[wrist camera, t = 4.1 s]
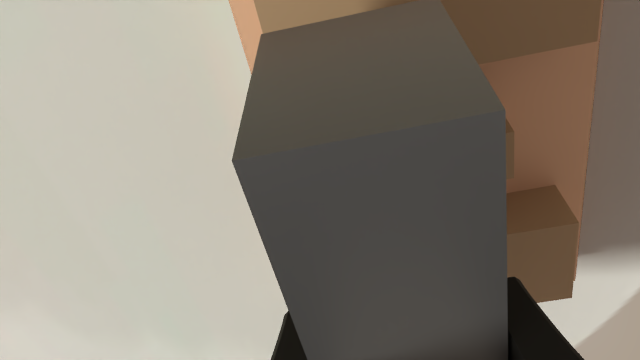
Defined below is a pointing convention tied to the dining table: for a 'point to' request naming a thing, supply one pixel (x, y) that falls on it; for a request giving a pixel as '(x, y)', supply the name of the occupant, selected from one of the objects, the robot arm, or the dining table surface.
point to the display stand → (508, 110)
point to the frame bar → (380, 186)
